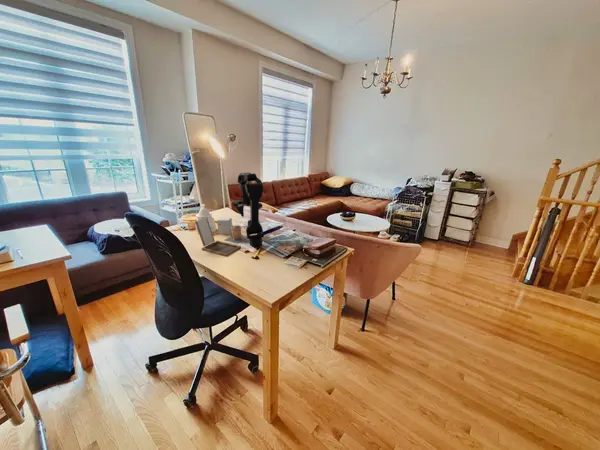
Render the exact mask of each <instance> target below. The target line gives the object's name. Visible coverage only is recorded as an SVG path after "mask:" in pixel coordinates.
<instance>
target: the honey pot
mask: <svg viewBox="0 0 600 450" xmlns="http://www.w3.org/2000/svg"><path fill="white" fill-rule="evenodd" d="M200 207H201V208H200V209H199V211H198V213H196V215H195V217H196V221H198V220H201V219H202V217H204V218H206V217H207V219H208V222H209V225H210V228H211V231H212V234H213V233H215V232H216V231H217V223H216V221H215V219H214V217H213V216H212V215H213V214H212V213H211V212H210V211H209V209H207V208H206V204H204V203H203V204H202V203H201V204H200ZM195 232H196V234H198V235H199V232H198V229H197V226H196V224H195Z"/></svg>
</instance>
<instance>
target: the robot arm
mask: <svg viewBox="0 0 600 450" xmlns="http://www.w3.org/2000/svg"><path fill="white" fill-rule="evenodd" d="M253 182H255V183H253ZM237 183H238V188H239V189H240V191H241V195H240V198H242V200H240V199H238V200H234V202H233V203H232V204H233V207H234V208H235V209H237V211H238V212H239V214H240V216H241V217H242V218H243V217H244V216H245V213H244V212H245V211H244V210H245V209H244V208H245V207H250V219H248V220H247V227H246V229H245V232H246V236H247V239H246V240H249V246H250V247H251V248H257V249H258V248H259V249H260V248H261V247H262V246H263V239H262V238H264V237H265V234H264V231H263V226H262V224H261V222H260V221H259V220H260V219H259V218H260V216H259V215H260V213H259V212H260V209H262V208H263V203H262V202H260V200H261V199H262V198H263V193H264V185H263V182H262V180H261V179H259V178H258V176H257V173H252V172H240V173H239V174H238V177H237Z"/></svg>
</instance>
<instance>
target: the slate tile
mask: <svg viewBox="0 0 600 450" xmlns="http://www.w3.org/2000/svg"><path fill="white" fill-rule="evenodd" d="M241 236H242V238H241V239H240V240H233V239H232V235H231V236H229V237H227V238H225V239H224V242H225V241H226V242H230V243H234V244H240V243H241V242H243V241H245V240H248V239H247V235H242V234H241Z"/></svg>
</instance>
